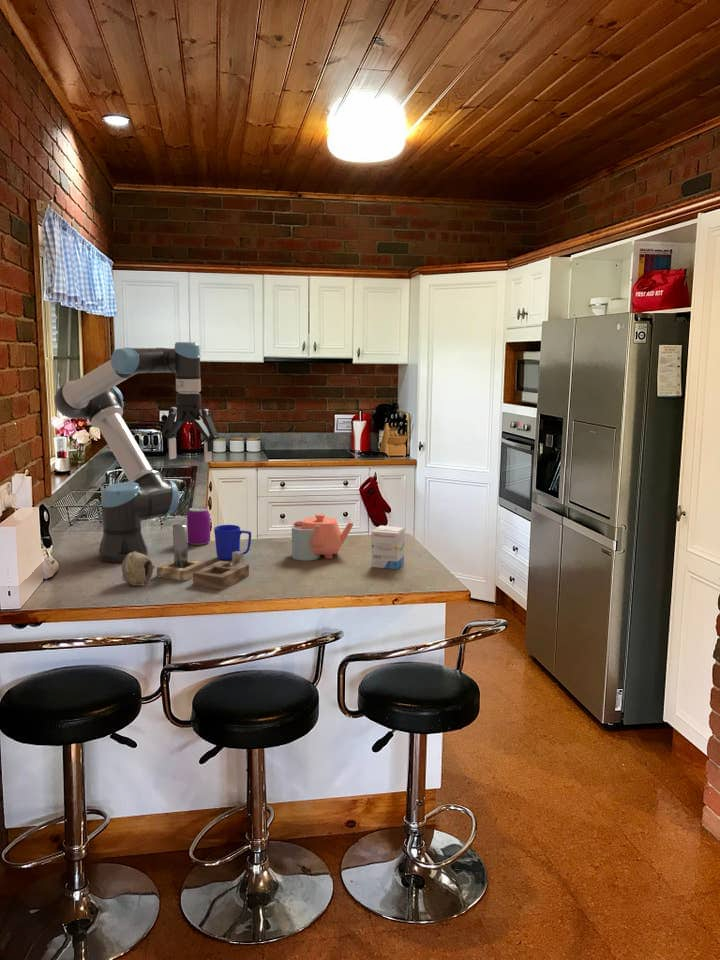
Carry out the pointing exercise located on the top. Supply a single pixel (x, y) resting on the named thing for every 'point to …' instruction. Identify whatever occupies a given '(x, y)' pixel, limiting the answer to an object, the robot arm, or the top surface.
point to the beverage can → (198, 526)
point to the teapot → (325, 534)
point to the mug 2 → (302, 543)
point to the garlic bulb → (137, 569)
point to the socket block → (220, 575)
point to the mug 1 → (229, 540)
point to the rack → (179, 570)
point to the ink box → (388, 547)
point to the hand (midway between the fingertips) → (190, 460)
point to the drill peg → (180, 545)
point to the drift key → (237, 558)
